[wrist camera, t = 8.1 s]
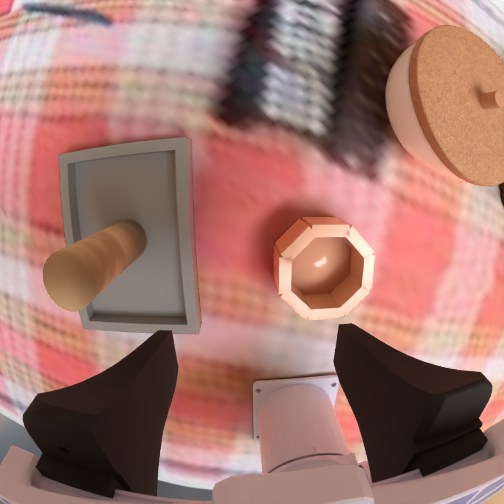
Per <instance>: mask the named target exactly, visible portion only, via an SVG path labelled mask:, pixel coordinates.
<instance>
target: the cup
mask: <svg viewBox="0 0 504 504" xmlns="http://www.w3.org/2000/svg"><path fill="white" fill-rule="evenodd" d="M275 244H276V245H274V280H275V284H276V287H277V290H278V294H279V296H280V298H282V299H283V300H284V301H285V302H286V303H287V304H288V305H289V306H291V307H292V308H293V309H294V310H295V311H296V312H297V313H298V314H299V315H301V316H302V317H303V318H304V319H306V318H307V320H317V319H331V318H342V315H343V316H345V315H346V314H347V313H349V312H350V311H351V310H352V309H353V308H354V307H355V306H356V305H357V304H358V303H359V302H360V301H361V300H362V299H363V298H364V297H365V296H366V295H367V294H368V293H369V292H370V291H369V290H368V289H371V288H372V280H373V272H374V263H375V254H373V253H374V251H373V250H372V248H371V247H370V246H369V245H368V244H367V242H366V241H365V240H364V239H363V238H362V236H361V235H360V234H359V233H358V232H357V231H356V229H355V228H354V227H353V226H352V225H350V224H348V223H346V222H344V221H342V220H340V219H338V218H336V217H302V220H301V219H300V218H299V219H298V220H297V221H296V222H295V223H294V224H293V225H292V226H291V227H290V228H289V229H288V230H287V231H286V232H285V233H284V234H283V235H282V236H281V237H280V238H279V239H278V240H277V241H276V242H275Z"/></svg>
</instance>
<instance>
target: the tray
mask: <svg viewBox="0 0 504 504" xmlns="http://www.w3.org/2000/svg"><path fill="white" fill-rule="evenodd" d="M59 175H60V193H61V206H62V216H63V225H64V233H65V241H66V247H68V246H70V245H72V244H74V243H76V242H78V241H80V240H82V239H84V238H86V237H88V236H90V235H92V234H94V233H96V232H98V231H101V230H103V229H105V228H107V227H109V226H111V225H114V224H116V223H118V222H120V221H123V220H132V221H135V222H137V223H138V224H140V225H141V226H142V228H143V229H144V231H145V233H146V236H147V246H146V249H145V251H144V253H143V254H142V255H141V256H140V257H139V258H138V259H136V260H135V261H134V262H133V263H132V264H131V265H130V266H129V267H128V268H127V269H125V270H124V271H123V272H122V273H121V274H120V275H119V276H118V277H117V278H116V279H115V280H114V281H112V282H111V283H110V284H109V285H108V286H107V287H106V288H105V289H104V290H103V291H102V292H101V293H100V294H99V295H98V296H97V297H96V298H95V299H94V300H93V301H91V302H90V303H89V304H88V305H87V306H86V307H85V308H84V309H82V310H80V311H79V313H80V317H81V321H82V325H83V328H84V329H91V330H104V331H119V332H137V333H155V332H157V331H158V330H172V334H199V332H200V328H201V323H202V321H201V311H200V299H199V287H198V275H197V261H196V245H195V228H194V207H193V181H192V140H191V139H190V138H188V137H180V138H168V139H157V140H148V141H139V142H131V143H123V144H116V145H110V146H103V147H97V148H91V149H85V150H80V151H74V152H69V153H64V154H60V155H59Z"/></svg>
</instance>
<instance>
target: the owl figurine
mask: <svg viewBox="0 0 504 504" xmlns="http://www.w3.org/2000/svg"><path fill="white" fill-rule="evenodd" d="M500 187H501V188H502V189H503V193H502V192H501V197H502V201H503V205H504V182H503V183H501V184H500Z"/></svg>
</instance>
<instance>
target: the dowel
mask: <svg viewBox="0 0 504 504" xmlns="http://www.w3.org/2000/svg"><path fill="white" fill-rule="evenodd" d="M146 246H147V236H146V233H145V231H144V229H143V228H142V226H141V225H140V224H138V223H137V222H135V221H132V220H123V221H120V222H118V223H116V224H114V225H111V226H109V227H107V228H105V229H103V230H101V231H98V232H96V233H94V234H92V235H90V236H88V237H86V238H84V239H82V240H80V241H78V242H76V243H74V244H72V245H70V246H68V247H66V248H64V249H62V250H60V251H58V252H56V253H54V254H52V255H51V256H50V257H49V258H48V259H47V261H46V262H45V265H44V269H43V280H44V284H45V287H46V290H47V292H48V294H49V295H50V297H51V298H52V300H53V301H54V302H55V303H56V304H57V305H59V306H60V307H61V308H63V309H65V310H68V311H80V310H82V309H84V308H85V307H86V306H87V305H88V304H89V303H90V302H91V301H93V300H94V299H95V298H96V297H97V296H98V295H99V294H100V293H101V292H102V291H103V290H104V289H105V288H106V287H107V286H108V285H109V284H110V283H111V282H112V281H114V280H115V279H116V278H117V277H118V276H119V275H120V274H121V273H122V272H123V271H124V270H125V269H127V268H128V267H129V266H130V265H131V264H132V263H133V262H134V261H135V260H136V259H138V258H139V257H140V256H141V255H142V254H143V253H144V251H145V249H146Z"/></svg>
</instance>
